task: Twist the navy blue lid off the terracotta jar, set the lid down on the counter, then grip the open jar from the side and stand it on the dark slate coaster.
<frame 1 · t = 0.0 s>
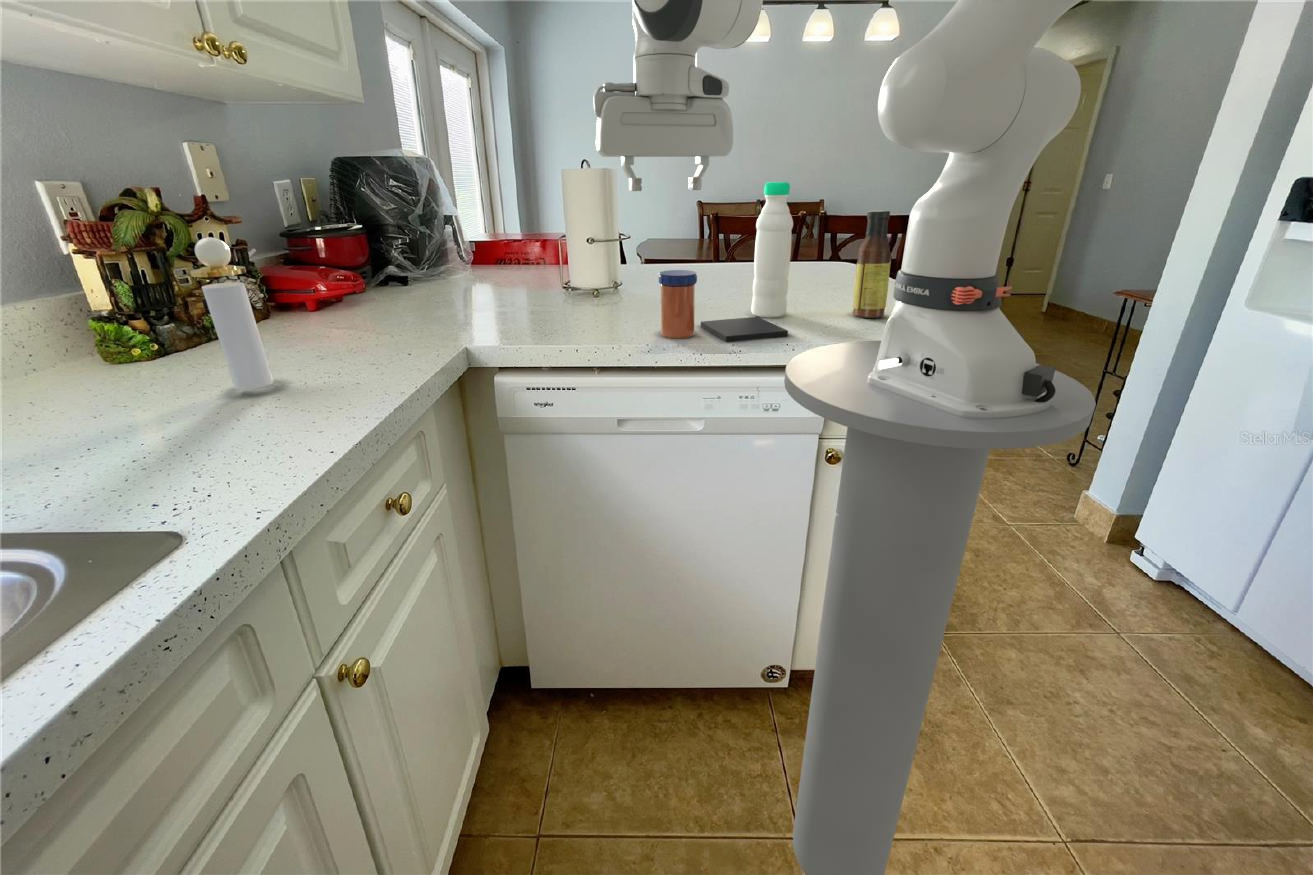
hand: (665, 190, 88), 24 cm above the worktop, tool pointing down, fingers open, 8 cm apart
jar: (677, 334, 106), on the worktop
perfume bottle: (256, 390, 80), on the worktop
coaster: (742, 331, 107), on the worktop
water bottle: (768, 315, 120), on the worktop
lid: (677, 275, 102), point 10 cm above the worktop, screwed on, not yet turned
sauce bottle: (866, 316, 118), on the worktop
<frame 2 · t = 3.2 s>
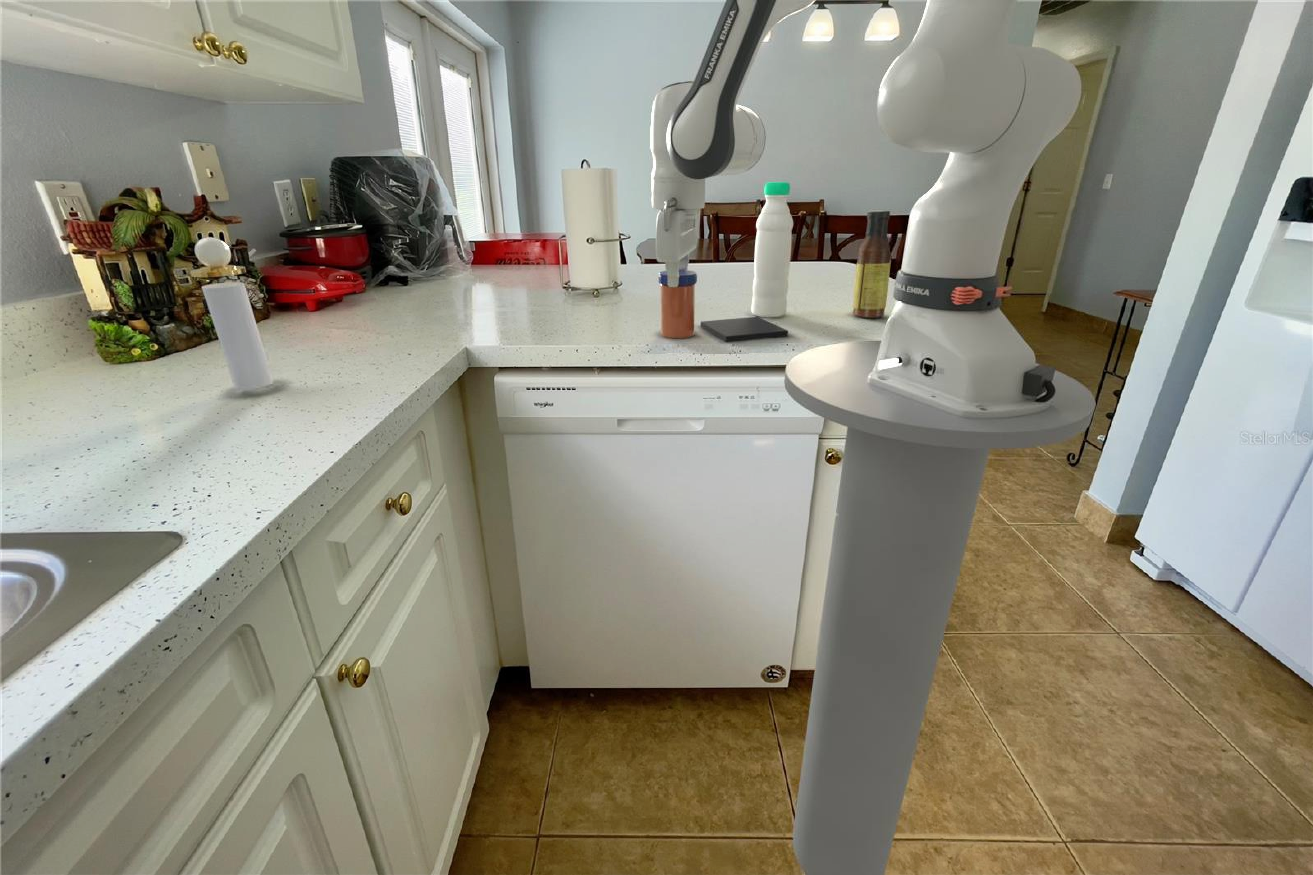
hand: (677, 282, 102), 9 cm above the worktop, tool pointing down, fingers closed on lid, 6 cm apart
lid: (677, 275, 102), point 10 cm above the worktop, screwed on, not yet turned, touching gripper
everything else where it was.
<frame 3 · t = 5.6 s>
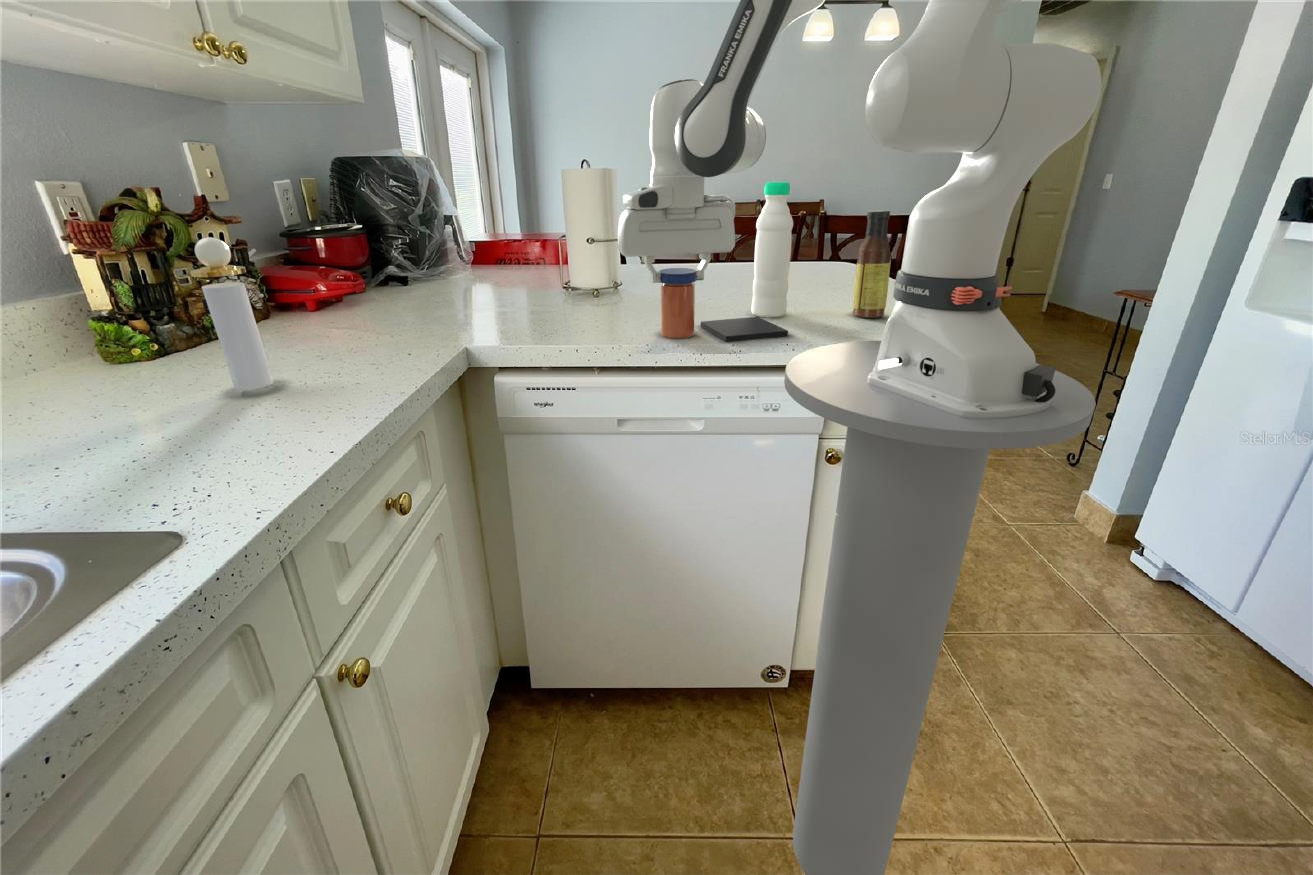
hand: (677, 281, 102), 9 cm above the worktop, tool pointing down, fingers closed on lid, 6 cm apart
lid: (677, 273, 101), point 11 cm above the worktop, off its thread, touching gripper
everything else where it was.
when the fingers open (0 cm above the worktop, at t = 13.5 s): lid stays where it is, point 1 cm above the worktop.
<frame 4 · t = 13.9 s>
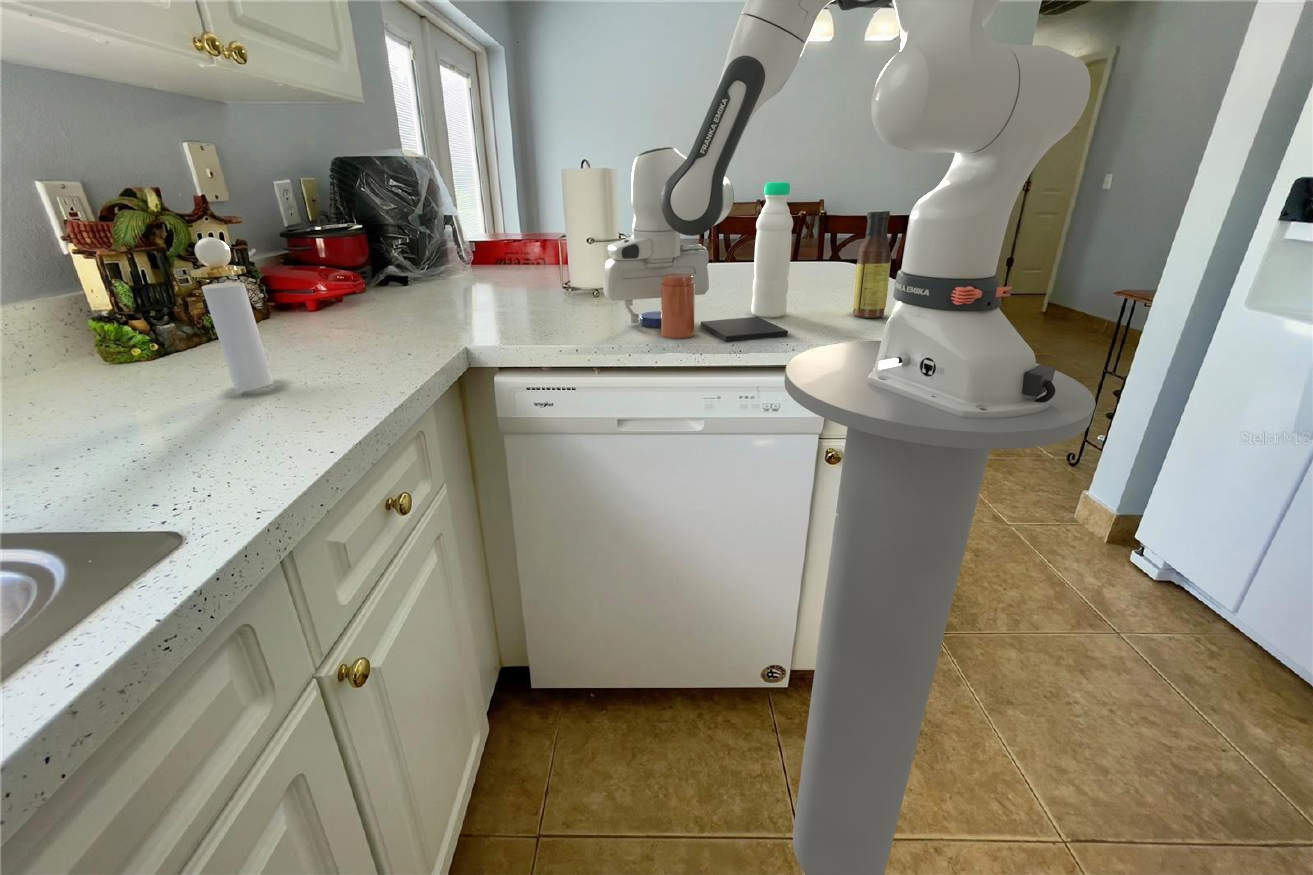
hand: (657, 320, 113), 1 cm above the worktop, tool pointing down, fingers open, 8 cm apart
lid: (657, 316, 113), point 1 cm above the worktop, off its thread
everything else where it was.
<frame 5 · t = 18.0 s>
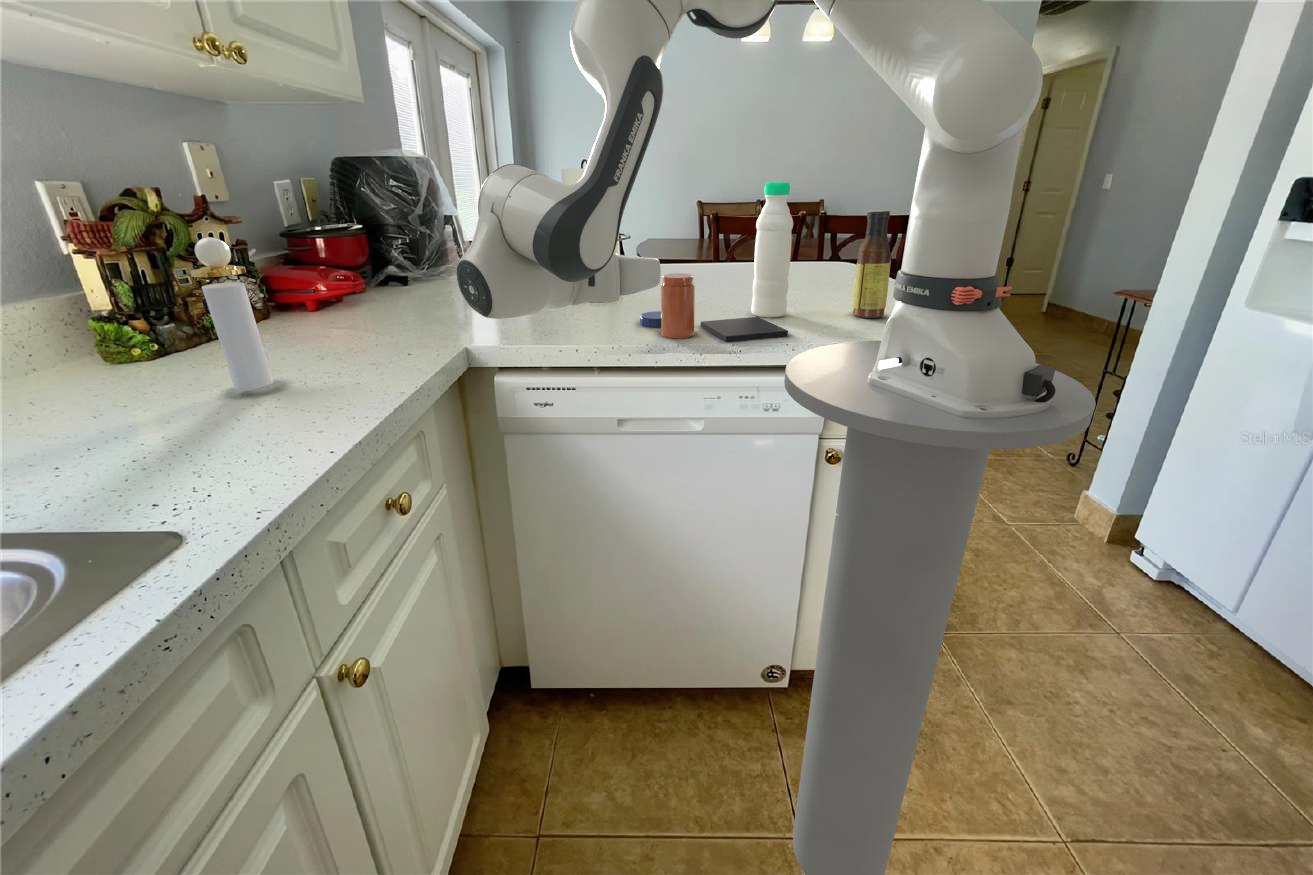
hand: (632, 262, 92), 14 cm above the worktop, tool horizontal, fingers open, 8 cm apart
nothing on the worktop moved.
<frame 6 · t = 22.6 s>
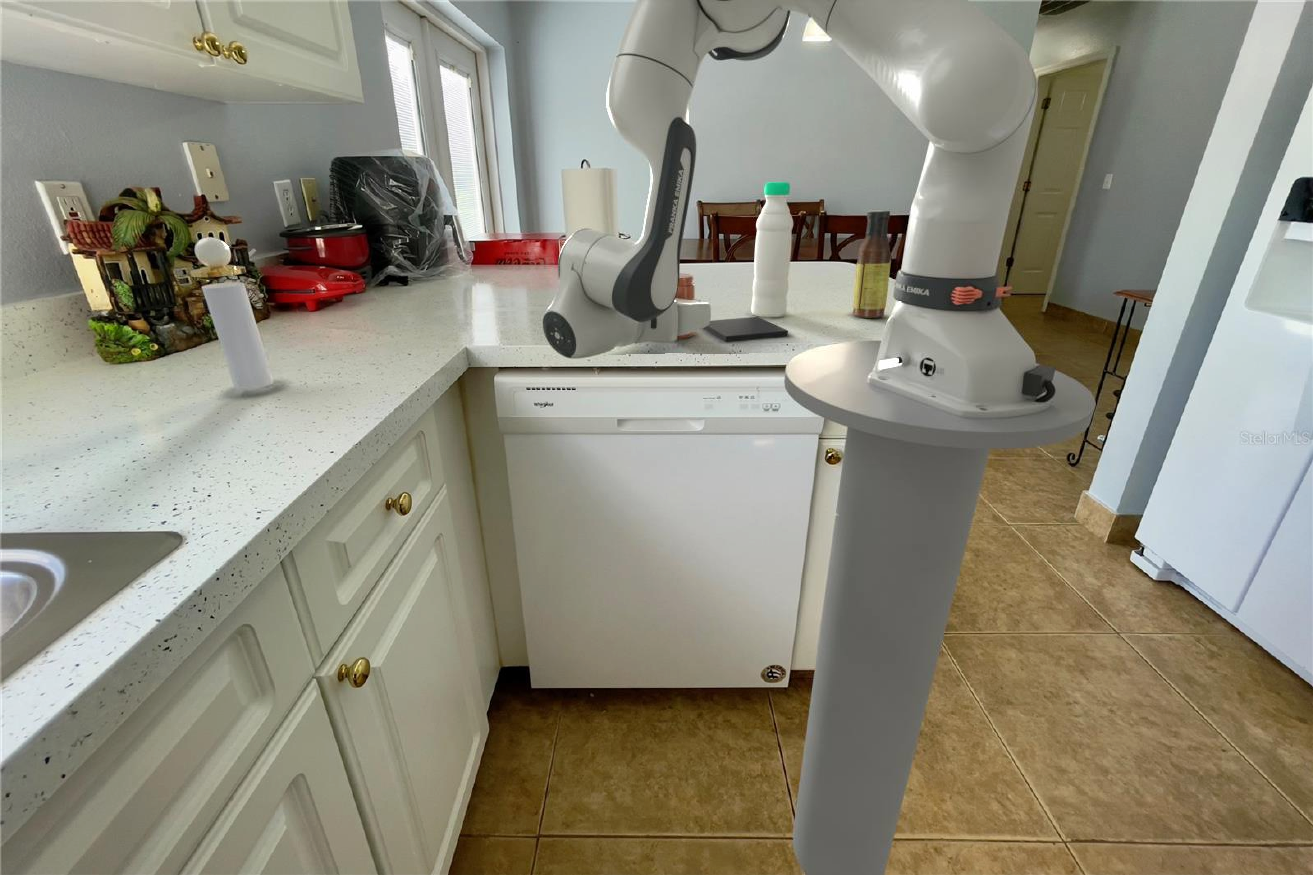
hand: (680, 301, 104), 6 cm above the worktop, tool horizontal, fingers closed on jar, 6 cm apart
jar: (677, 334, 106), on the worktop, touching gripper
everything else where it was.
when the fingers open (7 cm above the worktop, at t = 29.9 s): jar stays where it is, resting on coaster.
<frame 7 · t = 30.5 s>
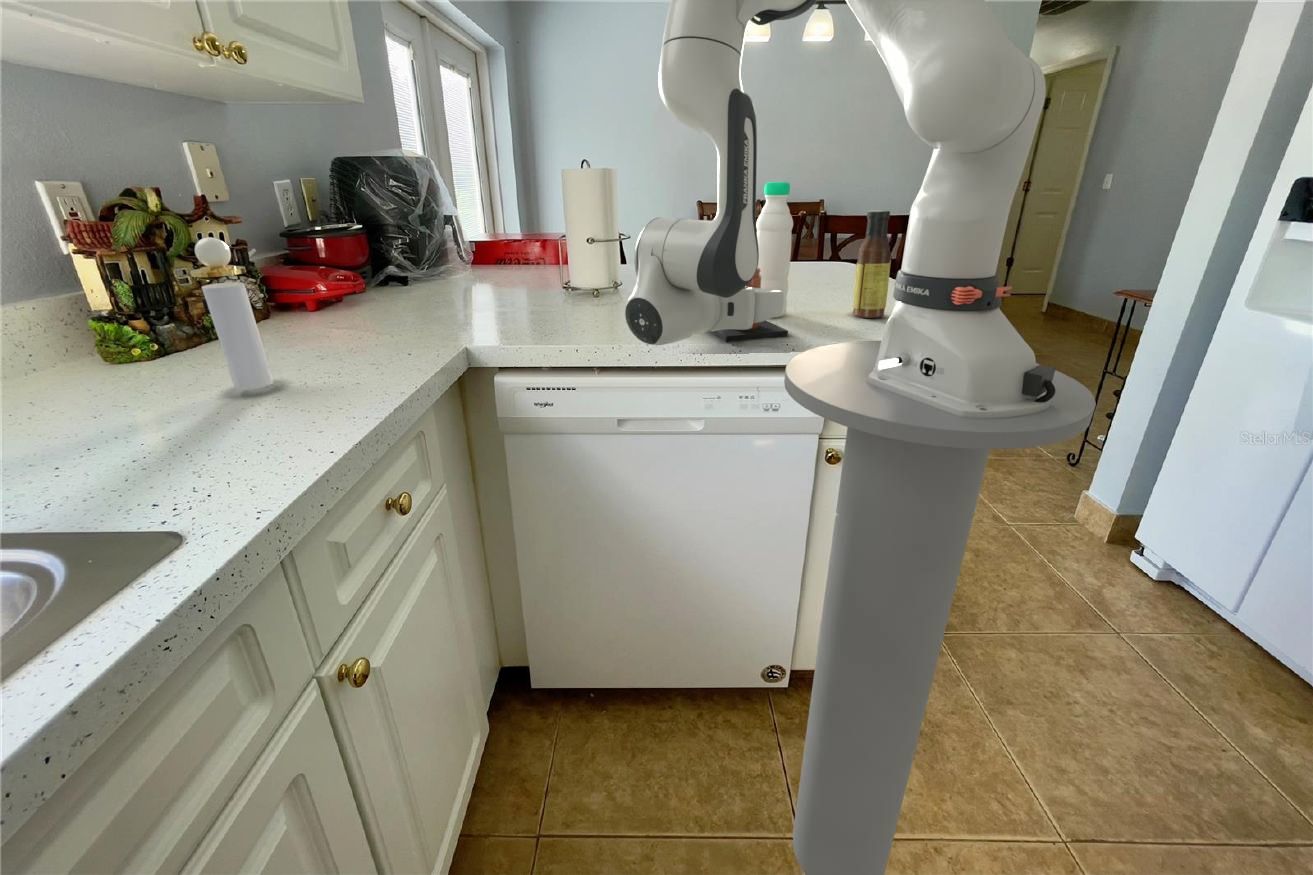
hand: (747, 291, 105), 7 cm above the worktop, tool horizontal, fingers open, 8 cm apart
jar: (742, 325, 107), point 1 cm above the worktop, touching coaster
everything else where it was.
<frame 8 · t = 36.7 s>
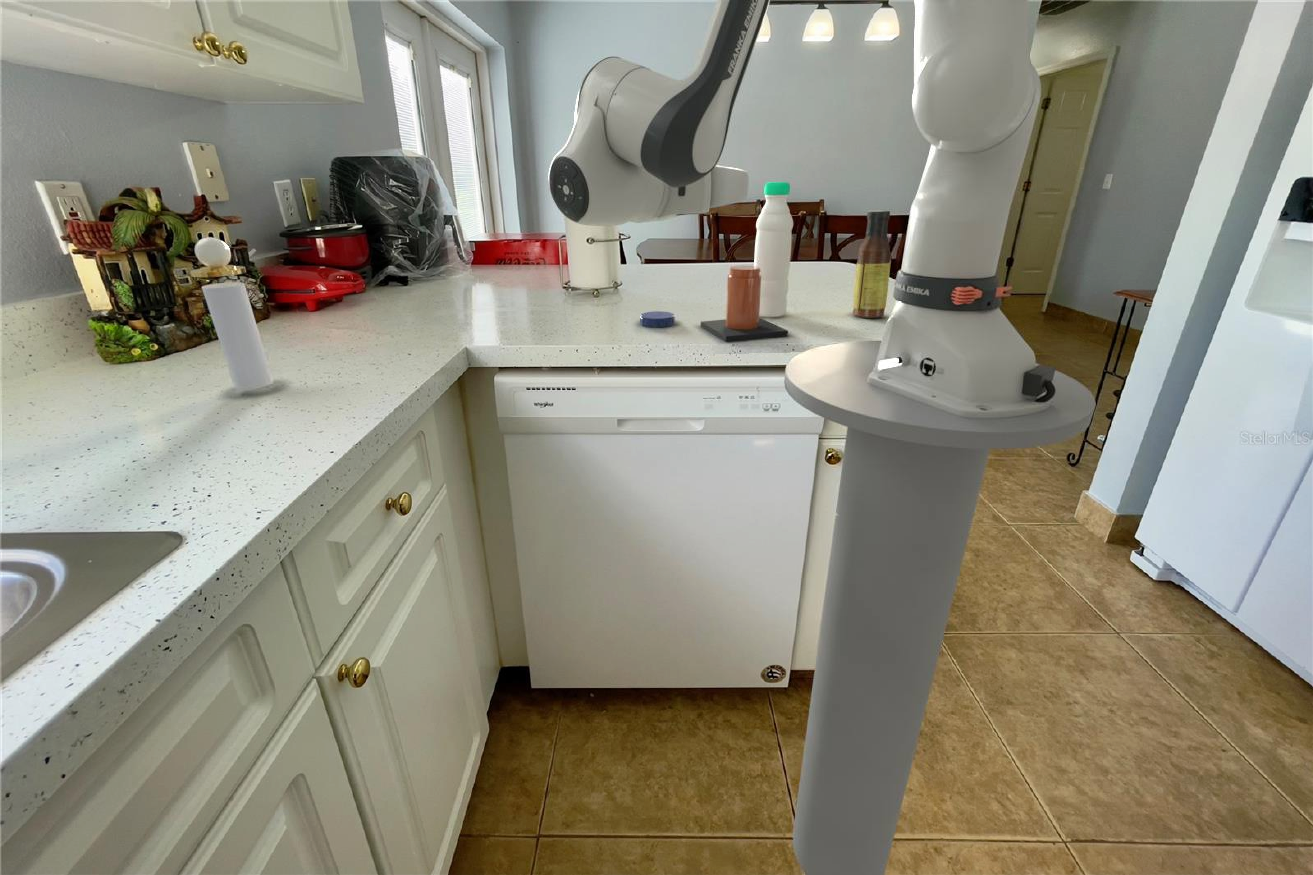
hand: (709, 184, 89), 25 cm above the worktop, tool horizontal, fingers open, 8 cm apart
nothing on the worktop moved.
at the end: lid point 1.3 cm above the worktop; jar inside the target area on the coaster (0.1 cm from its centre), point 1.0 cm above the coaster's base; jar tilted 0° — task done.
